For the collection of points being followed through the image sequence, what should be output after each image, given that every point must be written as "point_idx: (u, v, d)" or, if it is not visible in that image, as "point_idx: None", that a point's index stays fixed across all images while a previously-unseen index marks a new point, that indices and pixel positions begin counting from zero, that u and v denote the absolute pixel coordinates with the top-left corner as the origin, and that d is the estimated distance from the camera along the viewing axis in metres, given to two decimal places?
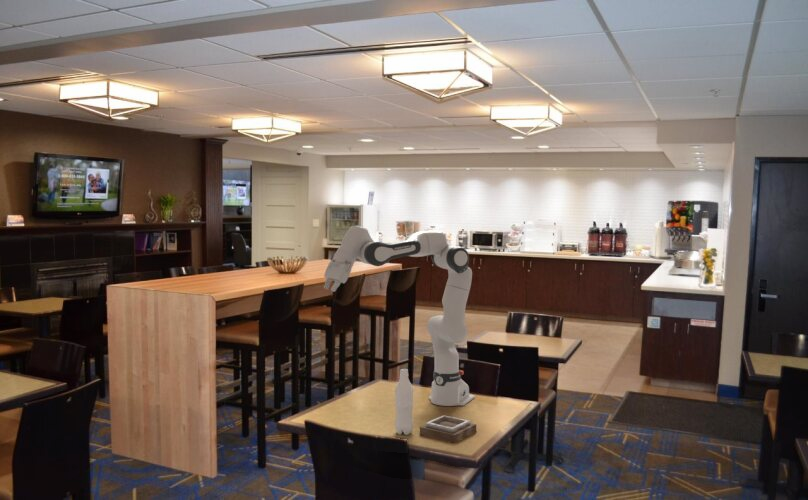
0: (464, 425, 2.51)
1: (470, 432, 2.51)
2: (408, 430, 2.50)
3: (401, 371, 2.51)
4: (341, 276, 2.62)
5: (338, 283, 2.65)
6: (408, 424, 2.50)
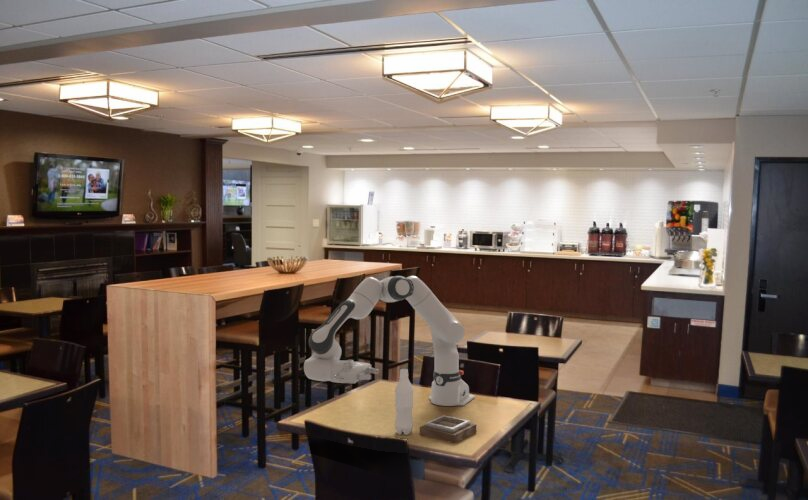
0: (464, 425, 2.51)
1: (470, 432, 2.51)
2: (408, 430, 2.50)
3: (401, 371, 2.51)
4: (349, 382, 2.48)
5: (360, 376, 2.51)
6: (408, 424, 2.50)
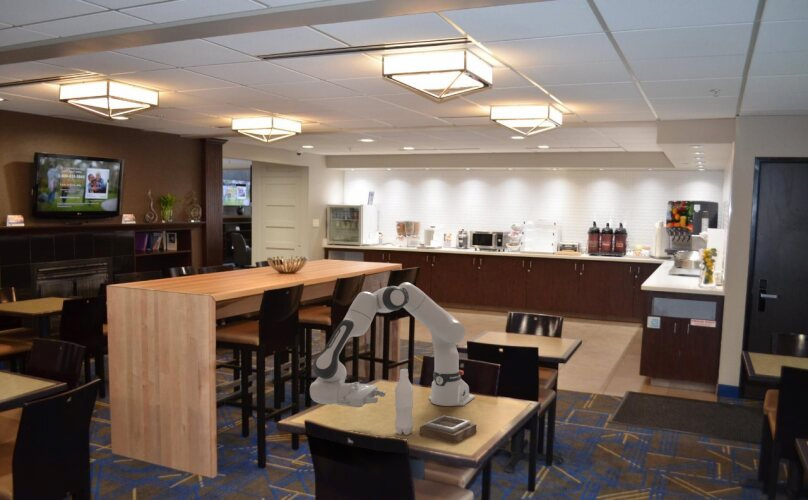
0: (464, 425, 2.51)
1: (470, 432, 2.51)
2: (408, 430, 2.50)
3: (401, 371, 2.51)
4: (356, 406, 2.48)
5: (366, 400, 2.50)
6: (408, 424, 2.50)
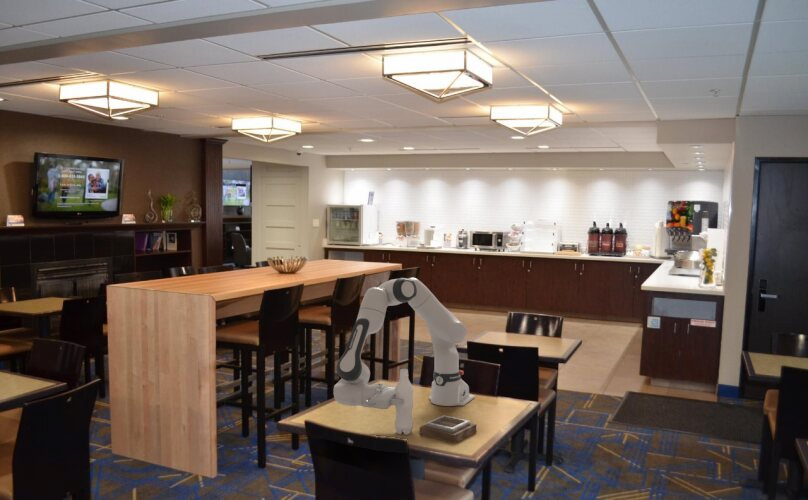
0: (464, 425, 2.51)
1: (470, 432, 2.51)
2: (408, 430, 2.50)
3: (401, 371, 2.51)
4: (381, 408, 2.45)
5: (392, 401, 2.48)
6: (408, 424, 2.50)
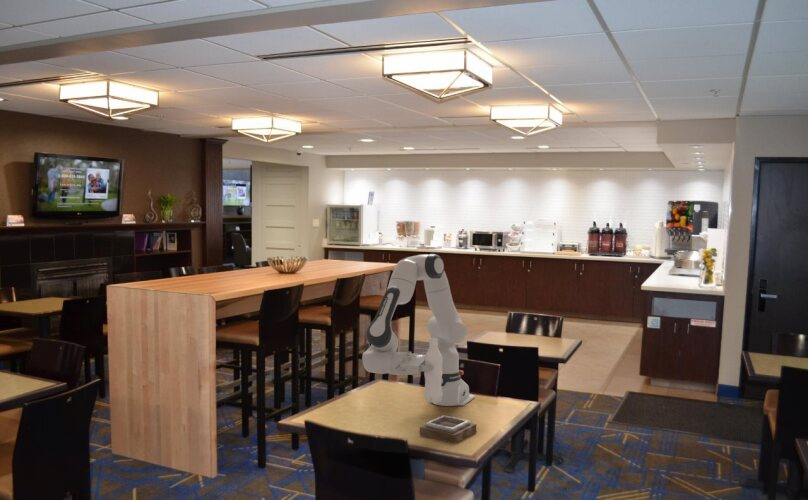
0: (464, 425, 2.51)
1: (470, 432, 2.51)
2: (437, 399, 2.50)
3: (431, 340, 2.50)
4: (411, 373, 2.44)
5: (422, 368, 2.47)
6: (437, 393, 2.50)
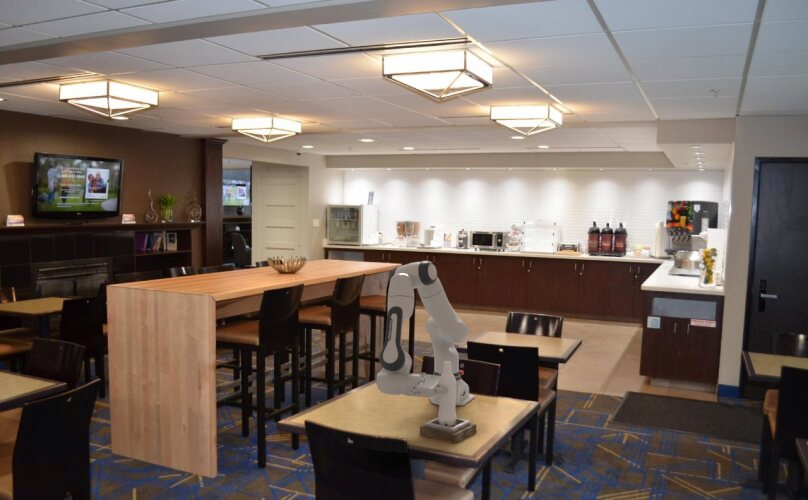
0: (464, 425, 2.51)
1: (470, 432, 2.51)
2: (452, 422, 2.50)
3: (444, 363, 2.51)
4: (427, 396, 2.44)
5: (437, 390, 2.47)
6: (451, 416, 2.50)
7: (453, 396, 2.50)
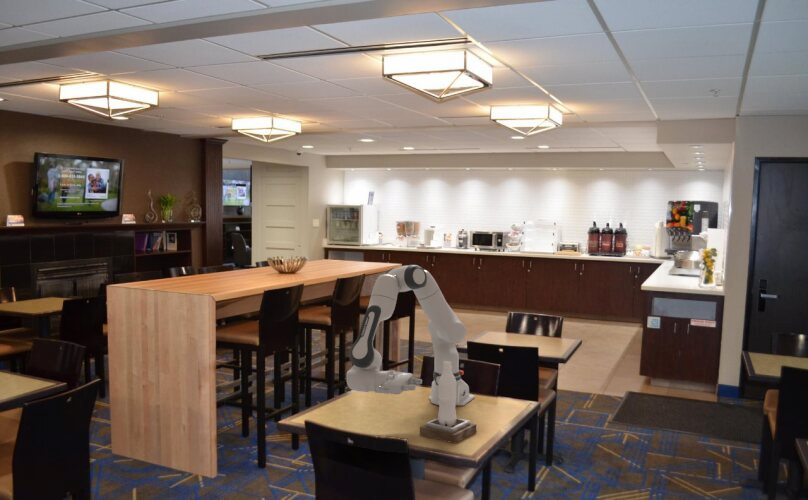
0: (464, 425, 2.51)
1: (470, 432, 2.51)
2: (452, 422, 2.50)
3: (444, 363, 2.51)
4: (394, 393, 2.48)
5: (404, 387, 2.51)
6: (451, 417, 2.50)
7: (453, 396, 2.50)
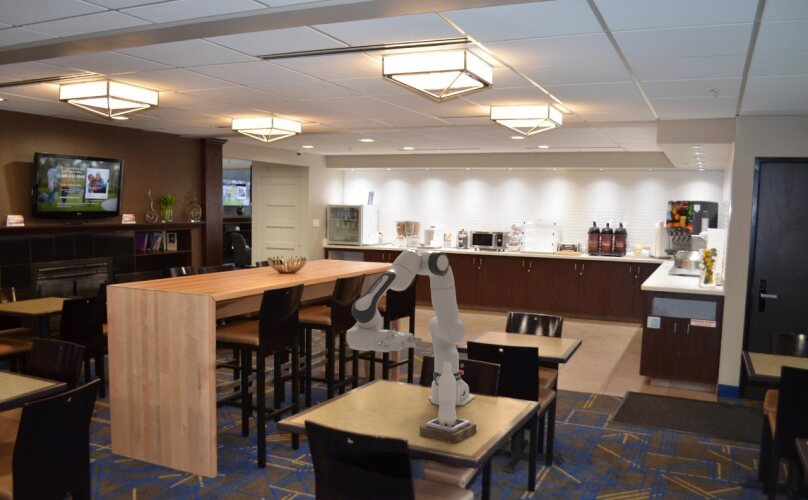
0: (464, 425, 2.51)
1: (470, 432, 2.51)
2: (452, 422, 2.50)
3: (444, 363, 2.51)
4: (394, 349, 2.47)
5: (404, 344, 2.50)
6: (451, 417, 2.50)
7: (453, 396, 2.50)
